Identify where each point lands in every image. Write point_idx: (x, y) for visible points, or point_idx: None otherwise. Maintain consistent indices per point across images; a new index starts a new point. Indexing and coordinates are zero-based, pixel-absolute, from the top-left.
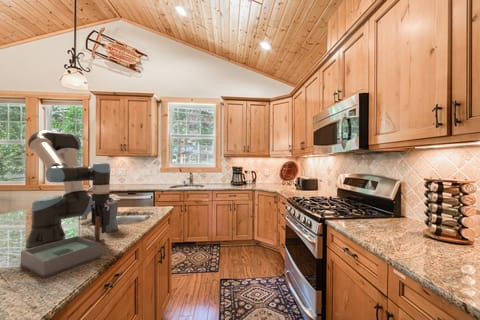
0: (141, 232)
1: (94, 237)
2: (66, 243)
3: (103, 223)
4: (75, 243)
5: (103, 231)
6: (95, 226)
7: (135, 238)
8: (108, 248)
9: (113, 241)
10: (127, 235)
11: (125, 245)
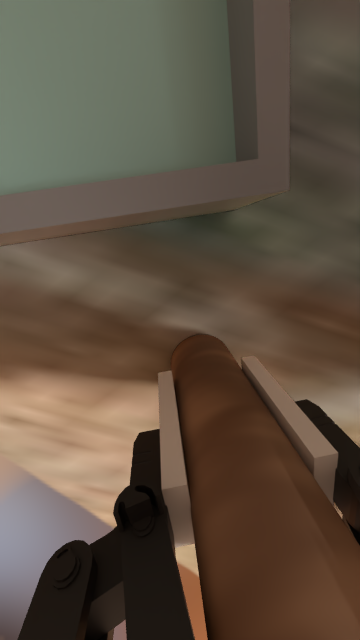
0: (195, 568)
1: (251, 360)
2: (230, 41)
3: (67, 613)
4: (151, 136)
5: (133, 454)
6: (281, 450)
7: (113, 524)
8: (40, 368)
9: None
10: None
11: (19, 455)
